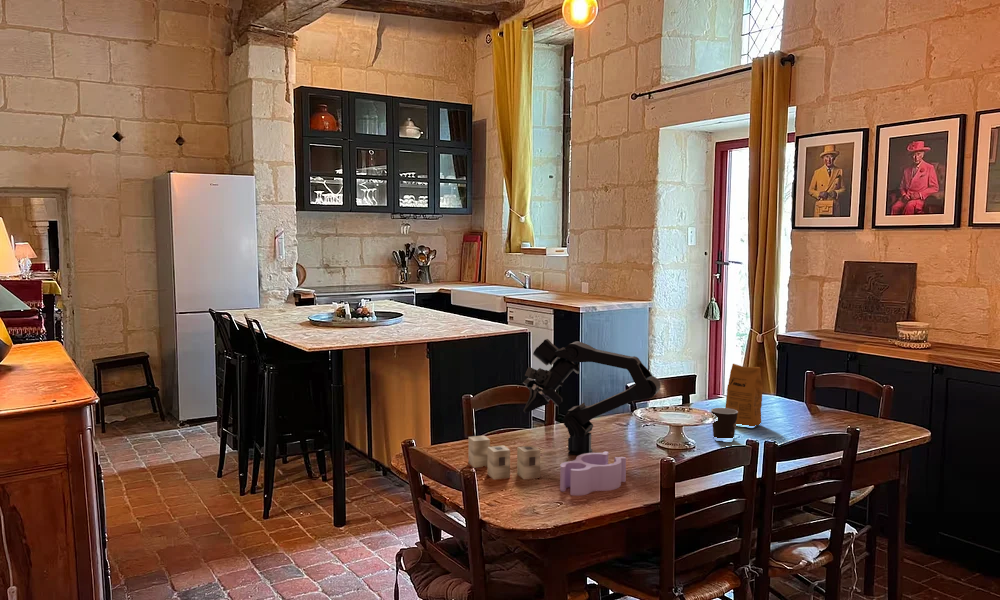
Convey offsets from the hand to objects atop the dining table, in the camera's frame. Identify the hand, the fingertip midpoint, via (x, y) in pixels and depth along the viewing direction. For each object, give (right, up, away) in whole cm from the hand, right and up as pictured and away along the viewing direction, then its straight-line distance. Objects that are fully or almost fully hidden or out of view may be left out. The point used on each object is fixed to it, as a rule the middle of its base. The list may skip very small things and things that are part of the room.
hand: (524, 411), depth 231 cm
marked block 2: (0, -15, -19) cm, 25 cm away
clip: (+18, -17, -27) cm, 36 cm away
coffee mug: (+69, -12, +20) cm, 73 cm away
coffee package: (+81, -11, +39) cm, 90 cm away
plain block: (-14, -14, -9) cm, 22 cm away
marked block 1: (-8, -15, -19) cm, 26 cm away
